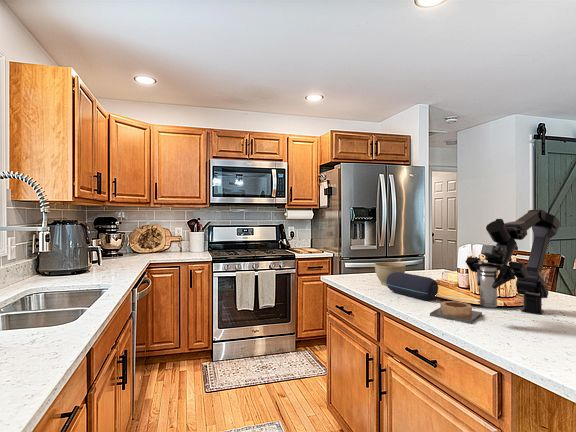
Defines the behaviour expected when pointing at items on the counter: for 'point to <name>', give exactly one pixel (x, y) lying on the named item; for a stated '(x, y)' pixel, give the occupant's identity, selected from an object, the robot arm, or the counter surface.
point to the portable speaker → (412, 285)
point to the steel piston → (488, 286)
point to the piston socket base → (456, 312)
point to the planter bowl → (388, 270)
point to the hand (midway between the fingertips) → (485, 286)
